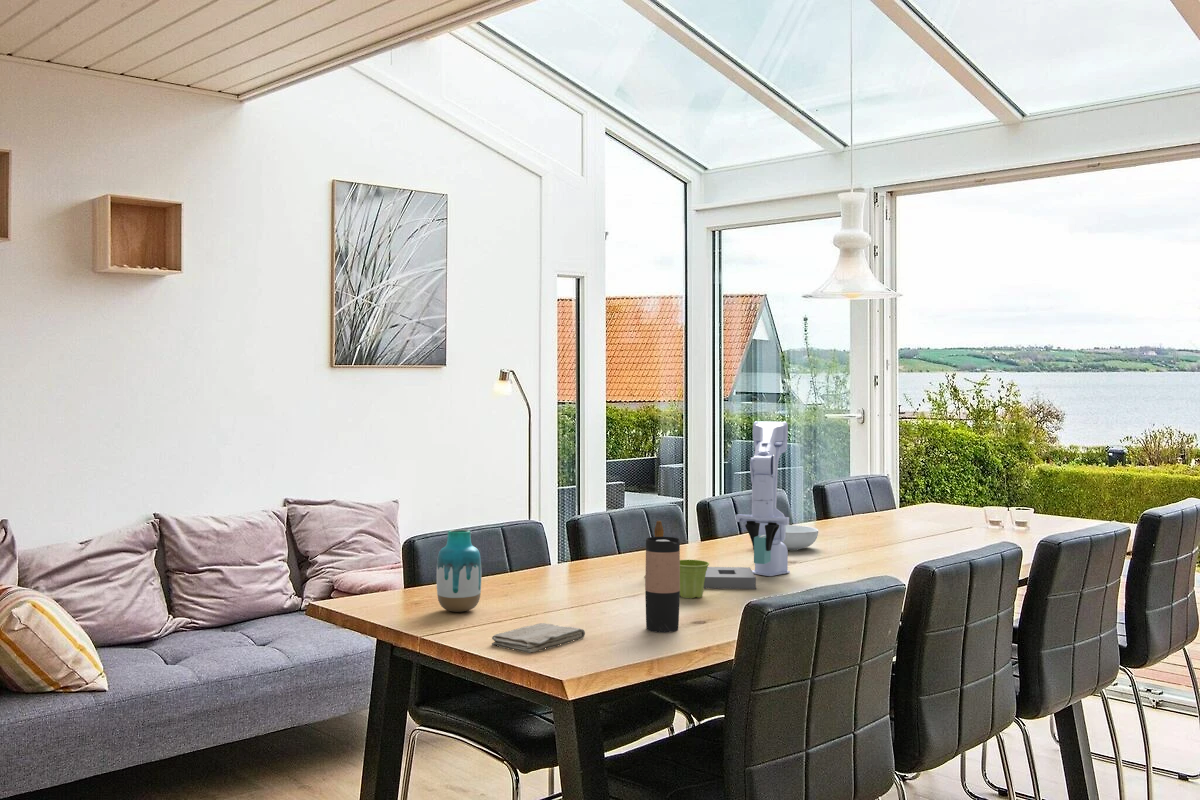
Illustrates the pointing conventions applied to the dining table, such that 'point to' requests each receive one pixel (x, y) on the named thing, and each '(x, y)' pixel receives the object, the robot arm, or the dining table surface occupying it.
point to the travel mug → (662, 584)
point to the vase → (458, 573)
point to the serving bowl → (799, 536)
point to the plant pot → (692, 578)
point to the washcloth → (537, 637)
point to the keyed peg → (761, 550)
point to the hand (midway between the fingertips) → (762, 550)
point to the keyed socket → (730, 578)
